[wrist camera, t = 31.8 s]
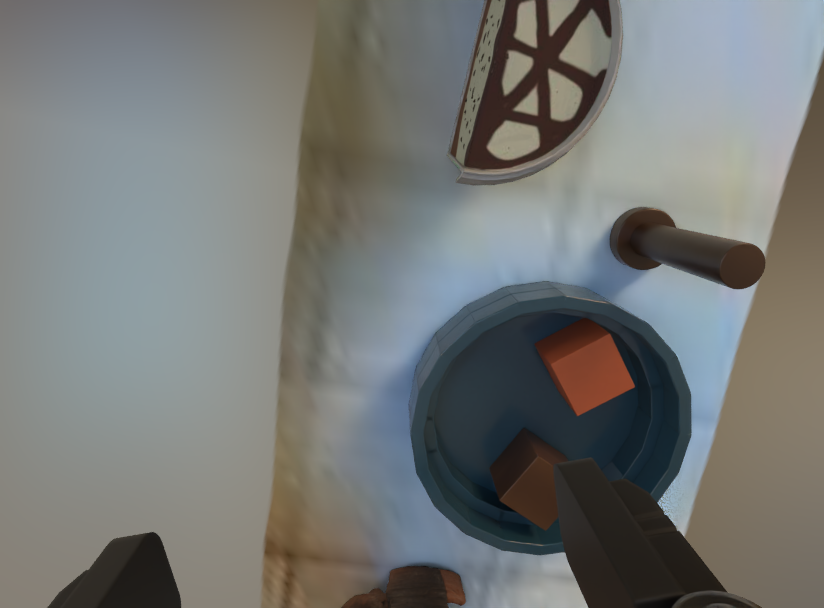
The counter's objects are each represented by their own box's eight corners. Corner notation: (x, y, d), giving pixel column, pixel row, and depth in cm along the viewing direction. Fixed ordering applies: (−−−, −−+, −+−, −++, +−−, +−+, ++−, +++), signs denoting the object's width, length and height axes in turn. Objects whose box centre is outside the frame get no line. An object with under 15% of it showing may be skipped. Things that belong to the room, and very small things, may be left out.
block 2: (586, 315, 36) (610, 333, 33) (610, 364, 37) (635, 387, 33) (533, 343, 37) (550, 364, 33) (558, 391, 38) (577, 416, 34)
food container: (532, 201, 35) (586, 213, 26) (441, 179, 35) (460, 183, 25) (590, -3, 32) (675, -76, 23) (491, -31, 32) (535, -118, 22)
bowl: (435, 259, 36) (441, 274, 31) (685, 303, 37) (729, 323, 32) (390, 491, 40) (390, 535, 35) (617, 522, 41) (646, 569, 37)
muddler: (630, 196, 35) (733, 208, 25) (680, 224, 36) (801, 248, 25) (598, 250, 36) (683, 284, 26) (647, 276, 37) (751, 321, 26)
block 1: (523, 426, 38) (538, 455, 34) (566, 456, 39) (585, 488, 35) (488, 467, 39) (499, 501, 35) (530, 496, 40) (545, 531, 36)
